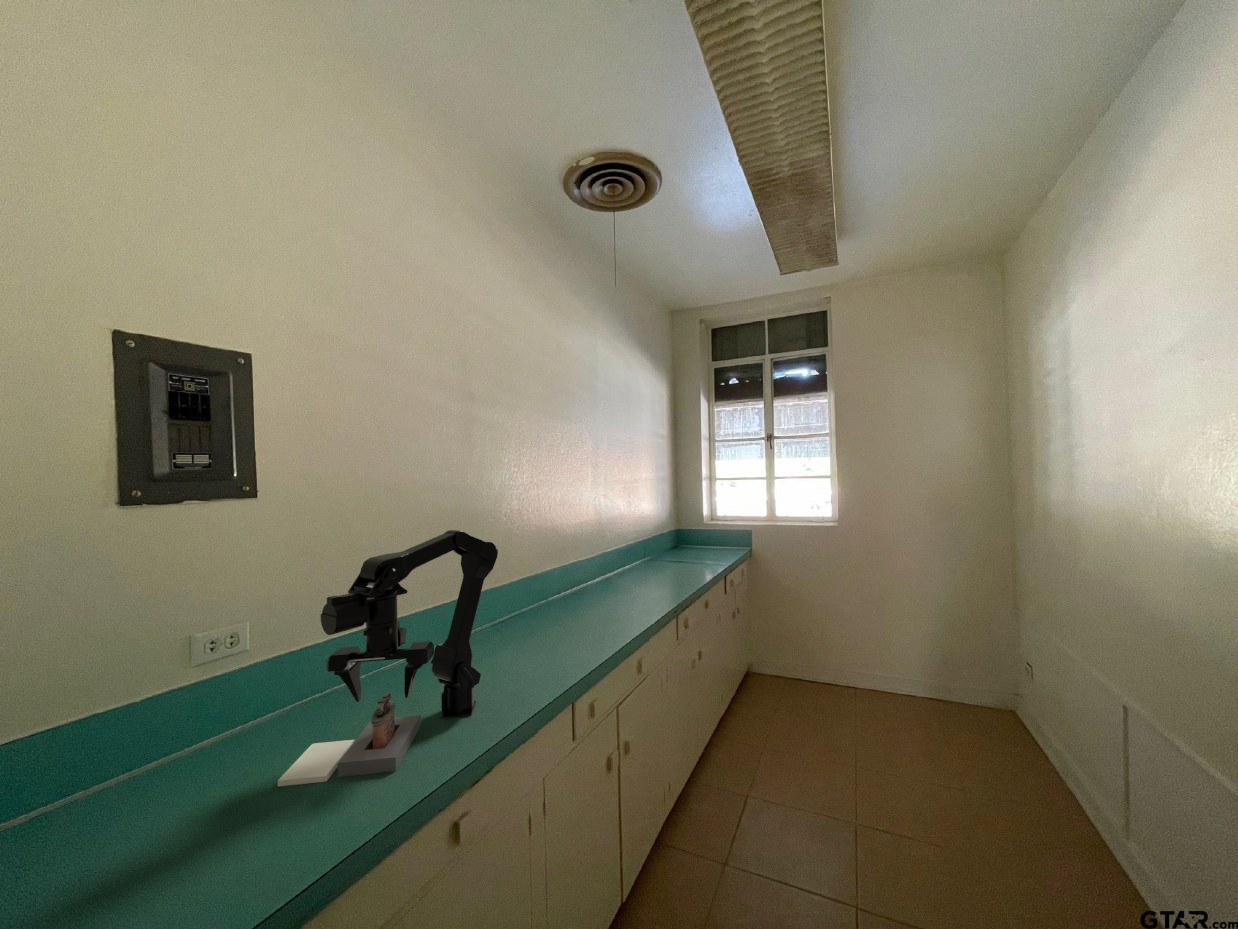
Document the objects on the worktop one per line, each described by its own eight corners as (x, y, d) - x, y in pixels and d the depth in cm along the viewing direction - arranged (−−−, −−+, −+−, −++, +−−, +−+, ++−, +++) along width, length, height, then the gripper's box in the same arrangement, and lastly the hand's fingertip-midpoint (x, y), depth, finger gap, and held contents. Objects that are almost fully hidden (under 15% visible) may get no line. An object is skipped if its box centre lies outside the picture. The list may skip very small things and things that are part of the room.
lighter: (386, 759, 91) (386, 706, 91) (367, 761, 90) (367, 708, 91) (399, 737, 99) (398, 688, 99) (381, 739, 98) (381, 690, 99)
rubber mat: (354, 744, 96) (354, 739, 96) (326, 781, 85) (326, 775, 85) (312, 748, 95) (312, 743, 95) (277, 786, 83) (277, 780, 84)
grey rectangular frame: (420, 726, 103) (420, 715, 103) (395, 771, 87) (395, 757, 87) (371, 731, 102) (371, 719, 102) (337, 777, 86) (337, 763, 86)
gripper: (439, 606, 104) (441, 678, 104) (349, 612, 102) (350, 685, 102) (426, 621, 93) (427, 701, 93) (324, 628, 91) (325, 710, 90)
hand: (383, 699), depth 95 cm, fingers open, 9 cm apart
